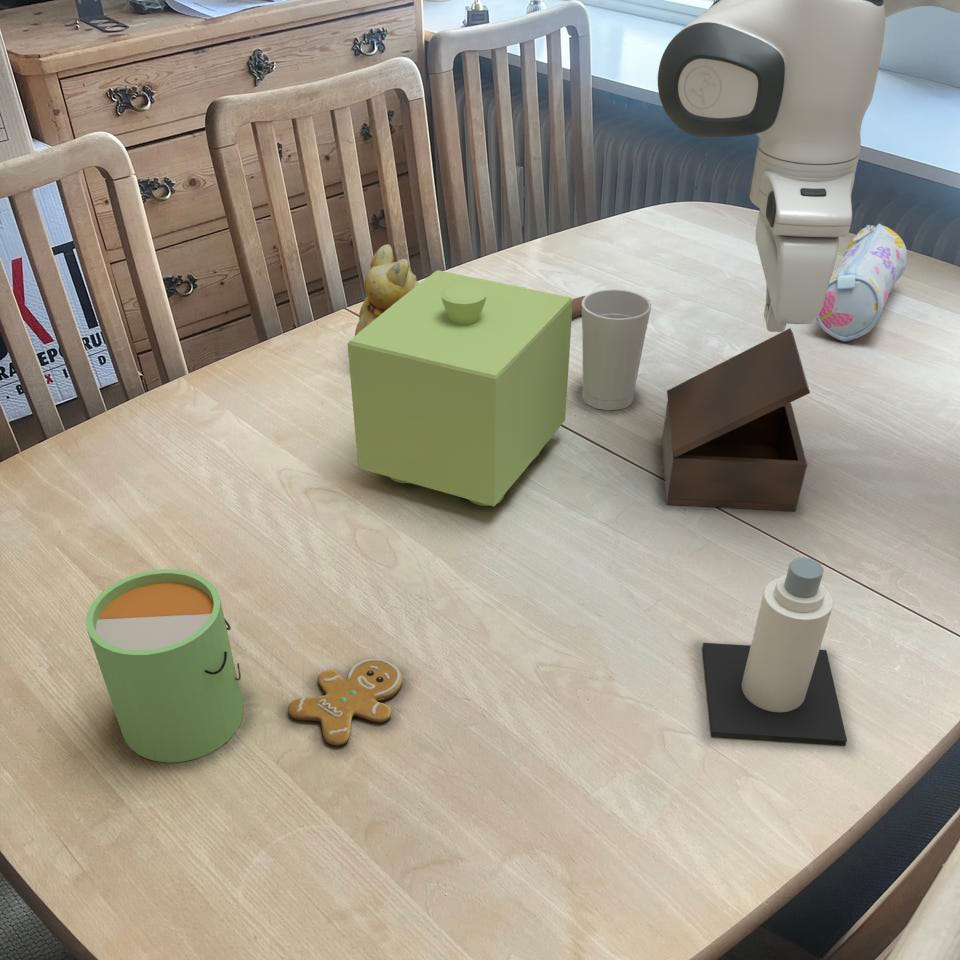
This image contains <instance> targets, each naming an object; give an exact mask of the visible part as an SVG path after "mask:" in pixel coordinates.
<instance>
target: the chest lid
mask: <svg viewBox="0 0 960 960" xmlns="http://www.w3.org/2000/svg"><path fill="white" fill-rule="evenodd" d="M809 394H811V391H810V387H809V384H808V381H807V377H806V374H805V370H804V367H803V363H802V360H801V356H800V352H799V349H798V345H797V342H796V338H795V335H794V332H793V330H792V328H791V327H789V328H787V329H785V330H784V331H782V332H778V334H775V335H773V336H771V337H769V338H768V339H765V340H764V341H761V342H760V343H758V344H756V345H754V346H751V347H750V348H748V349H746V350H744V351H742V352H740V353H738V354H735V355H734V356H732V357H730V358H729V359H726V360H724V361H722V362H720V363H719V364H716V365H715V366H712V367H710V368H708V369H706V370H705V371H703V372H701V373H699V374H696V375H695V376H693V377H691V378H689V379H687V380H685V381H683V382H681V383H679V384H677V385H675V386H673V387H671V388H669V389H667V390H666V396H667V397H666V398H667V400H668V409H669V420H670V432H671V443H672V452H673V454H674V456H675V457H677V456H679V455H681V454H684V453H686V452H688V451H690V450H692V449H694V448H696V447H698V446H700V445H702V444H705V443H707V442H709V441H711V440H713V439H715V438H717V437H719V436H721V435H723V434H726V433H728V432H730V431H732V430H734V429H736V428H738V427H740V426H742V425H744V424H746V423H749V422H751V421H753V420H755V419H757V418H759V417H761V416H763V415H765V414H767V413H770V412H772V411H774V410H776V409H778V408H780V407H782V406H784V405H786V404H788V403H792V402H795V401H797V400H799V399H801V398H803V397H805V396H808V395H809Z"/></svg>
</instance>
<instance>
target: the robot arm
mask: <svg viewBox="0 0 960 960" xmlns="http://www.w3.org/2000/svg"><path fill="white" fill-rule="evenodd" d="M919 7H935V8H941V9H945V10H947V11H950V12H954V13H957V14H960V0H714V2H713V3H712V4H711V5H710V6H709V8H708V9H706V10H705V11H704V12H702V13H701V14H699V15H698V16H697V17H696V18H694V19H693V20H691V21H690V22H689V23H688V24H687V25H685V26H684V27H682V29H681V30H680V31H679V32H678V33H677V34H676V35H674V37H673V38H672V39H671V40H670V41H669V43H668V44H667V46H666V47H665V49H664V51H663V53H662V55H661V58H660V62H659V65H658V71H657V91H658V95H659V99H660V103H661V105H662V108H663V110H664V111H665V113H666V116H667V117H668V118H669V119H670V121H671V122H672V123H673V124H674V125H675V126H676V127H677V128H678V129H680V130H681V131H682V132H684V133H686V134H688V135H691V136H695V137H699V138H732V137H745V136H751V135H756V136H757V137H758V140H757V141H758V142H757V148H756V153H755V160H754V167H753V172H752V179H751V184H750V189H749V200H750V202H751V203H752V205H754V206H755V207H757V208H758V209H759V210H758V215H757V221H756V225H755V243H756V247H757V251H758V254H759V255H758V256H759V260H760V263H761V266H762V271H763V276H764V280H765V284H766V287H765V289H766V290H765V306H764V311H763V318H764V322H765V326H766V330H767V332H771V333H781V332H783V331H785V330H786V327H787V324H788V325H811V324H813V323H815V321H817V320H816V318H817V317H818V315H819V313H820V311H821V309H822V306H823V303H824V299H825V296H826V293H827V290H828V286H829V283H830V279H831V276H832V274H833V273H834V269H835V265H836V262H837V257H838V252H839V246H840V238H845V237H848V235H849V233H850V230H851V226H852V222H853V199H852V198H853V197H852V193H853V188H854V184H855V177H856V176H855V175H856V172H857V167H858V164H859V163H858V162H859V158H860V154H861V148H862V137H861V131H862V125H863V120H864V117H865V115H866V112H867V110H868V108H869V107H870V105H871V102H872V100H873V97H874V92H875V88H876V83H877V79H878V74H879V70H880V69H879V68H880V65H881V64H880V63H881V58H882V52H883V46H884V39H885V30H886V18H888V17H891V16H893V15H896V14H898V13H900V12H903V11H907V10H910V9H914V8H919Z"/></svg>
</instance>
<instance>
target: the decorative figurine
mask: <svg viewBox="0 0 960 960" xmlns="http://www.w3.org/2000/svg"><path fill="white" fill-rule="evenodd" d="M393 254H394V252H393V248H392V246H391V245H390V244H388V243H387V244H384V245H382V246H380V248H379V249H378V250H377V251H376V252H375V253H374V255H373V256H372V258H371V262H370V268H369V271H368V272H367V273H366V275H365V277H364V278H365V279H364V291H365V294H366V296H365V299H364V301H363V303H362V305H361V306H360V310H359V313H358V322H357V325H356V327H355V331H354V336H356V335H357V334H358V333H359V332H360V331H361V330H363V329H364V328H365V327H366V326H368V325H369V324H370V323H371V322H372V321H374V320H375V319H376V318H377V317H379V316H380V315H381V314H382V313H383V312H385V311H386V310H387V309H388V308H390V307H391V306H392V305H393V304H395V303H396V302H397V301H398V300H400V299H401V298H402V297H403V296H405V295H406V294H407V293H408V292H410V291H411V290H412V289H413V288H415V287H416V286H417V285H419V284H420V283H419V282H418V279H417V276H416V275H415V274H414V273H413V271H412V268H410V263H409V260H408V259H407V258H401V259H400V260H398V261H395V256H394V255H393Z"/></svg>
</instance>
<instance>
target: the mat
mask: <svg viewBox="0 0 960 960" xmlns="http://www.w3.org/2000/svg"><path fill="white" fill-rule="evenodd" d="M750 647H751V644H750V645H749V644H731V643H716V642H715V643H714V642H703V643H702V657H703V658H702V659H703V668H704V676H705V687H706V697H707V707H708V717H709V727H710V734H711V735H710V736H711V737H714V738H715V737H716V738H726V739H727V738H730V739H744V740H760V741H776V742H791V743H805V744H818V745H819V744H820V745H822V744H823V745H835V746H836V745H837V746H846V745H847V742H848V739H847V734H846V731H845V730H846V729H845V725H844V723H843V722H844V721H843V717H842V712H841V708H840V704H839V700H838V695H837V691H836V690H837V689H836V685H835V682H834V678H833V673H832V669H831V664H830V659H829V656H828V651H827V650H826V649H820V650H819V653H818V656H817V660H816V663H815V666H814V670H813V673H812V676H811V680H810V683H809V686H808V689H807V693H806V696H805V699H804V701H803V703H802V704H801V705H800V706H799V707H798V708H796V709H794V710H792V711H788V712H772V711H767V710H764V709H761V708H759V707H757V706H756V705H754V704H753V703H751V702H750V701H749V700H748V699H747V698H746V696H745V695H744V693H743V691H742V680H743V676H744V672H745V668H746V663H747V659H748V655H749V651H750Z"/></svg>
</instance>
